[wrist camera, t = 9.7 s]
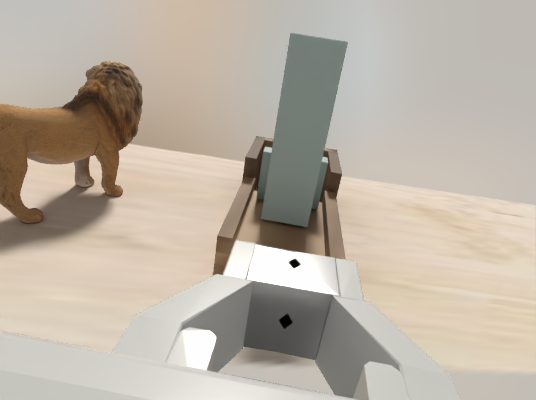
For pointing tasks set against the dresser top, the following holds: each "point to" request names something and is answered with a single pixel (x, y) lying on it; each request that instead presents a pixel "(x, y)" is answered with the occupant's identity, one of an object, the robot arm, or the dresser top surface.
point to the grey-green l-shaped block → (301, 130)
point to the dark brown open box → (259, 144)
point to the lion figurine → (71, 134)
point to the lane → (278, 228)
